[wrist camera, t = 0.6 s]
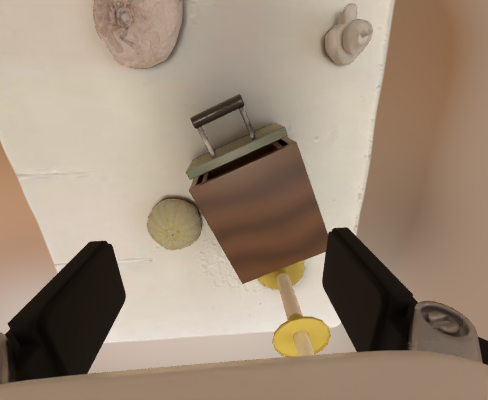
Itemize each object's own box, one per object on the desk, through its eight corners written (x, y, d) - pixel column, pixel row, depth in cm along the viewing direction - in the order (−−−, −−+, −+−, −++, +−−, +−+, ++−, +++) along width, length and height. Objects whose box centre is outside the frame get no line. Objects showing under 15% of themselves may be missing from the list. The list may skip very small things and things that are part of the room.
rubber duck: (321, 70, 35) (346, 62, 27) (319, 16, 32) (346, -9, 25) (357, 64, 35) (392, 53, 27) (358, 9, 32) (397, -19, 25)
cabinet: (196, 172, 39) (188, 190, 31) (281, 133, 38) (296, 142, 30) (240, 252, 46) (242, 284, 38) (313, 222, 44) (332, 248, 36)
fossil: (117, 80, 30) (65, -9, 27) (132, 83, 34) (88, 6, 31) (200, 33, 28) (155, -70, 25) (206, 42, 32) (167, -45, 29)
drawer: (174, 125, 35) (162, 130, 29) (260, 84, 34) (268, 80, 28) (235, 240, 44) (237, 263, 37) (306, 210, 42) (320, 230, 36)
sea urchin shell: (206, 200, 39) (197, 248, 36) (204, 215, 46) (196, 255, 43) (150, 190, 38) (135, 238, 35) (156, 206, 45) (145, 248, 42)
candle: (268, 295, 51) (326, 572, 21) (247, 262, 47) (281, 542, 17) (311, 276, 50) (437, 542, 20) (292, 241, 46) (414, 503, 16)
